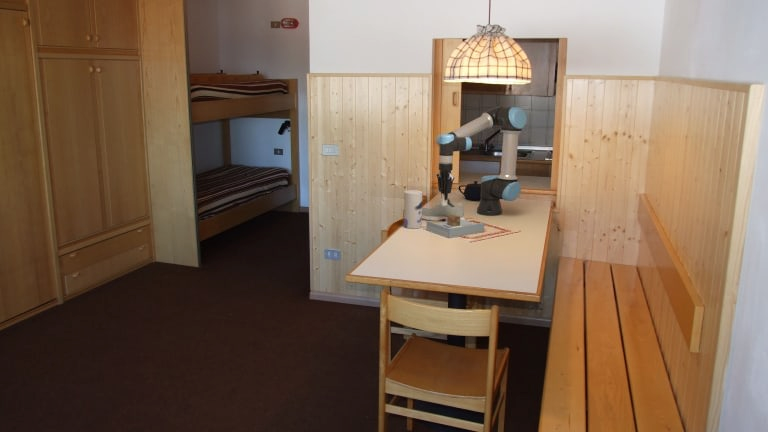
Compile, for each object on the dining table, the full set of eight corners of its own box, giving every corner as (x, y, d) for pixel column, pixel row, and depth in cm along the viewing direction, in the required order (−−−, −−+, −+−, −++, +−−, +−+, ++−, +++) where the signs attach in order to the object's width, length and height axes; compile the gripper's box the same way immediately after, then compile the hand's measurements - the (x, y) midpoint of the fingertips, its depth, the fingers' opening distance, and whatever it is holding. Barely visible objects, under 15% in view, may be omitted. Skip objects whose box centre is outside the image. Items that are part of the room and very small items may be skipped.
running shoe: (421, 215, 396) (421, 193, 393) (468, 221, 383) (469, 198, 380) (413, 219, 386) (414, 196, 383) (461, 225, 374) (462, 201, 370)
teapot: (454, 200, 438) (455, 181, 435) (461, 195, 452) (462, 177, 449) (491, 203, 429) (492, 184, 426) (497, 198, 443) (498, 180, 440)
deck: (460, 224, 375) (460, 215, 374) (483, 231, 359) (484, 223, 358) (426, 229, 362) (426, 221, 361) (449, 238, 346) (449, 229, 345)
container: (420, 229, 364) (421, 193, 359) (402, 228, 366) (402, 192, 361) (422, 224, 373) (423, 190, 369) (405, 223, 375) (406, 189, 370)
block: (454, 223, 365) (454, 214, 363) (460, 225, 361) (460, 216, 359) (447, 224, 362) (447, 215, 361) (452, 226, 358) (453, 217, 357)
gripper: (458, 164, 356) (457, 206, 361) (443, 160, 366) (442, 202, 372) (447, 165, 352) (446, 208, 357) (433, 161, 362) (431, 203, 368)
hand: (444, 205), depth 365 cm, fingers closed
